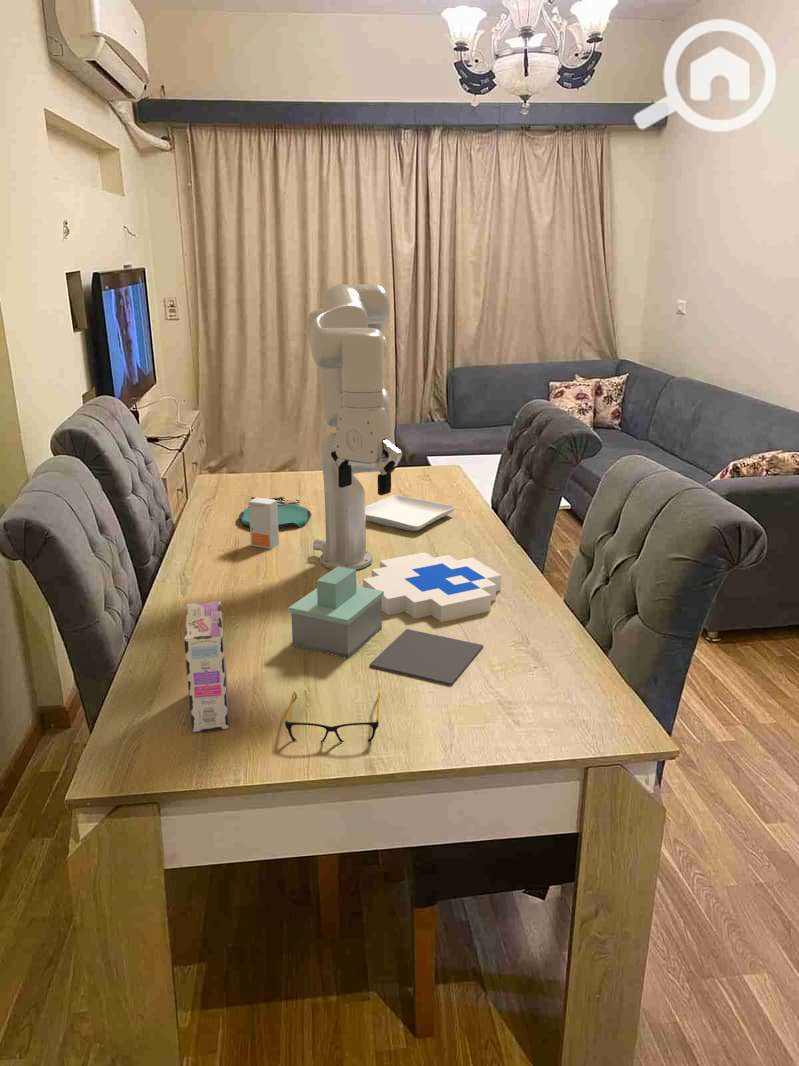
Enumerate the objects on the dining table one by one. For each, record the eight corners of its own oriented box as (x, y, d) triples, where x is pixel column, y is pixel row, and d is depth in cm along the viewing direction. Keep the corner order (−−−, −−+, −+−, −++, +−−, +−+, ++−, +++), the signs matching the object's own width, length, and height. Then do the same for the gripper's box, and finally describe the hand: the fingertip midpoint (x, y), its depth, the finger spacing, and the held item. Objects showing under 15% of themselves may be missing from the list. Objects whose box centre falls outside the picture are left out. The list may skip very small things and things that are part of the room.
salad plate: (457, 516, 232) (457, 504, 231) (418, 537, 215) (418, 525, 214) (394, 504, 243) (394, 493, 242) (352, 523, 226) (352, 511, 225)
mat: (369, 666, 149) (369, 664, 148) (406, 631, 162) (406, 628, 162) (451, 685, 142) (451, 683, 142) (483, 647, 156) (483, 645, 156)
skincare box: (250, 546, 208) (247, 501, 204) (259, 541, 211) (256, 496, 207) (271, 549, 205) (269, 504, 201) (279, 544, 209) (277, 499, 205)
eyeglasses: (285, 747, 126) (283, 724, 124) (296, 698, 139) (295, 677, 138) (378, 747, 126) (378, 724, 124) (380, 698, 139) (380, 677, 138)
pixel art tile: (454, 546, 197) (522, 587, 174) (454, 562, 198) (521, 605, 175) (347, 566, 185) (406, 613, 162) (348, 582, 186) (406, 632, 163)
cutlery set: (236, 533, 218) (235, 524, 217) (244, 501, 246) (244, 494, 245) (311, 531, 220) (311, 523, 219) (311, 500, 248) (311, 493, 247)
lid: (289, 612, 154) (287, 582, 152) (328, 584, 166) (327, 557, 164) (348, 625, 149) (347, 594, 147) (383, 595, 161) (383, 567, 159)
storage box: (292, 645, 156) (291, 612, 154) (329, 617, 168) (328, 585, 166) (348, 658, 151) (347, 624, 149) (381, 628, 163) (381, 596, 161)
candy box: (229, 729, 129) (222, 635, 124) (191, 734, 128) (182, 639, 123) (228, 686, 142) (221, 599, 136) (193, 689, 141) (185, 601, 135)
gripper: (314, 398, 154) (317, 487, 159) (387, 407, 144) (387, 501, 149) (341, 394, 159) (343, 479, 165) (412, 401, 149) (412, 492, 155)
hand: (364, 489), depth 157 cm, fingers open, 9 cm apart
